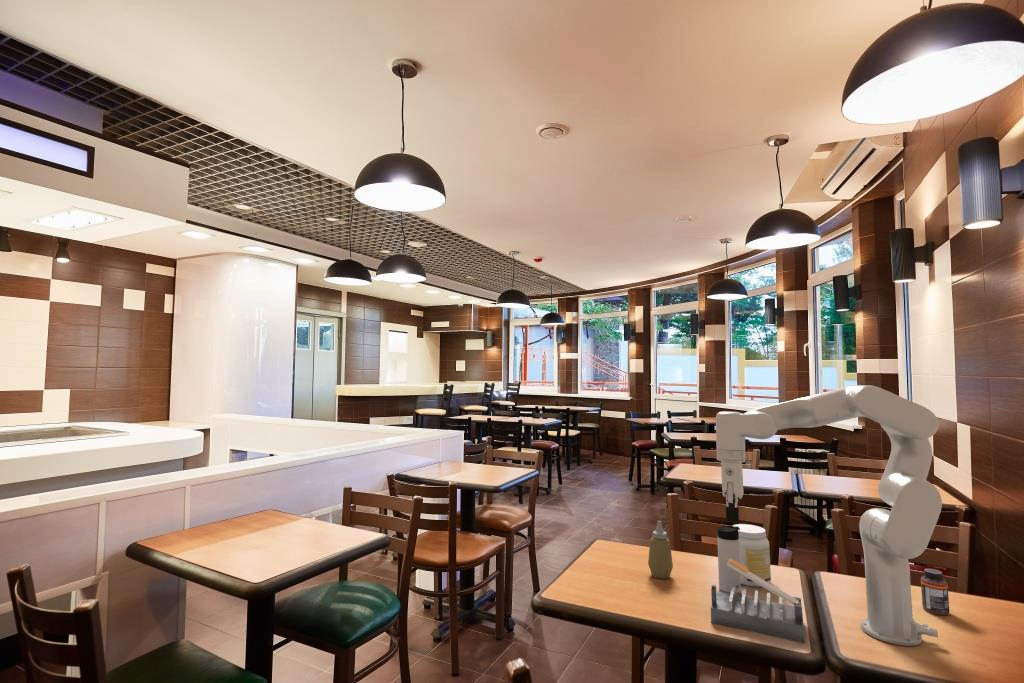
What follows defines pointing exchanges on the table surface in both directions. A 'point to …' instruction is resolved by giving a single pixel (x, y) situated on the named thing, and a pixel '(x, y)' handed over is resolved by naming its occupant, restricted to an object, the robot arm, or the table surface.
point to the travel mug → (727, 550)
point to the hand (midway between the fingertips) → (732, 521)
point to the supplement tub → (754, 553)
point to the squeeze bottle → (660, 554)
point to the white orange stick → (761, 582)
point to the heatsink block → (757, 614)
